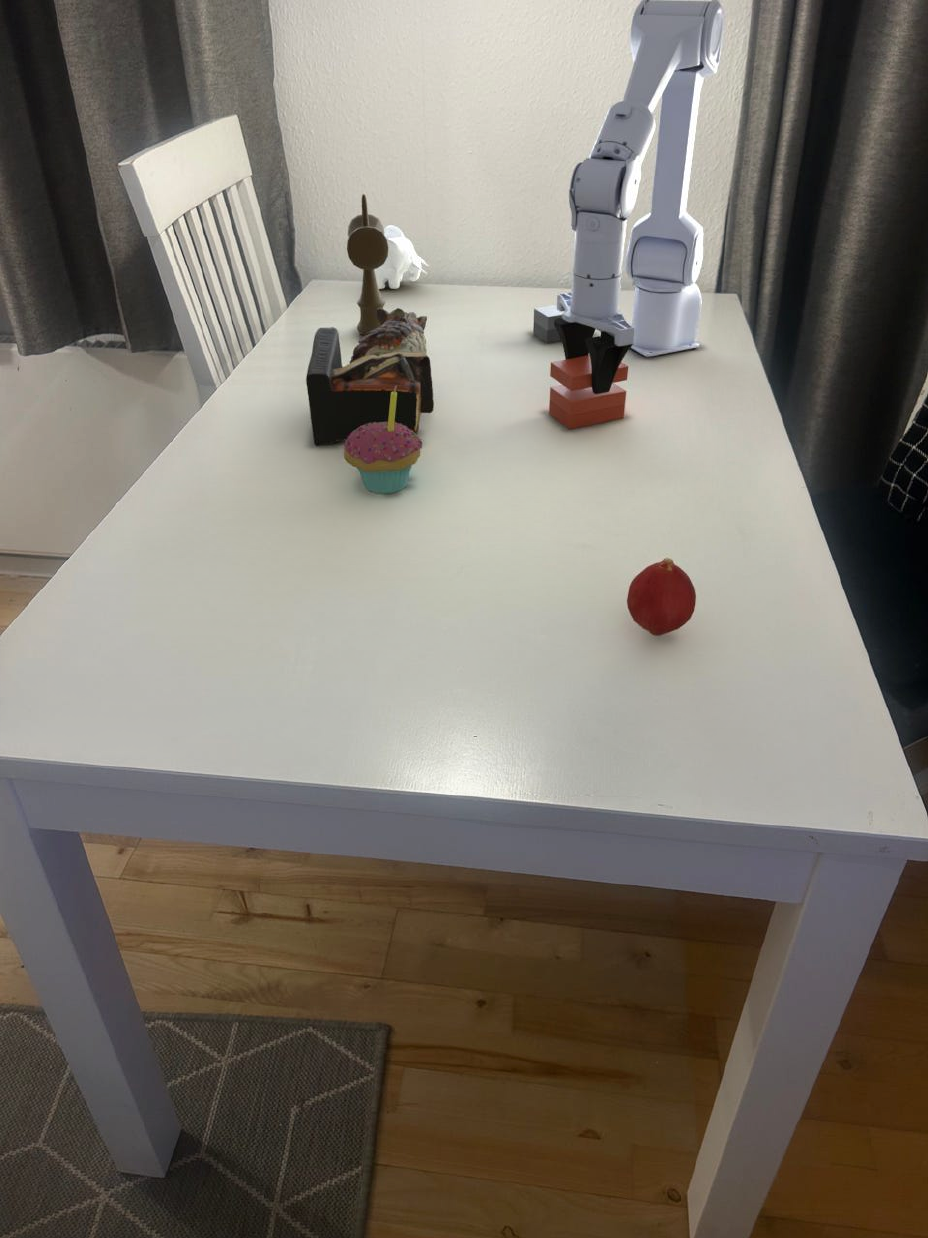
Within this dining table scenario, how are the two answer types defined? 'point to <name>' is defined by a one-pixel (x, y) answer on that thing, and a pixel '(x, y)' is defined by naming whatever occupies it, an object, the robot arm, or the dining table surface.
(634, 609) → the onion
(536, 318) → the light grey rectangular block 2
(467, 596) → the dining table surface
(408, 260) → the elephant figurine
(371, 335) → the bookend
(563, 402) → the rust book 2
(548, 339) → the dark grey rectangular block
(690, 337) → the robot arm
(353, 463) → the cupcake
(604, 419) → the red rectangular block
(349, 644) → the dining table surface
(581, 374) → the flat red block
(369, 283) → the kendama
